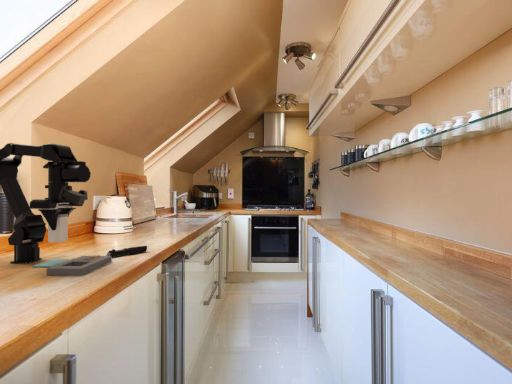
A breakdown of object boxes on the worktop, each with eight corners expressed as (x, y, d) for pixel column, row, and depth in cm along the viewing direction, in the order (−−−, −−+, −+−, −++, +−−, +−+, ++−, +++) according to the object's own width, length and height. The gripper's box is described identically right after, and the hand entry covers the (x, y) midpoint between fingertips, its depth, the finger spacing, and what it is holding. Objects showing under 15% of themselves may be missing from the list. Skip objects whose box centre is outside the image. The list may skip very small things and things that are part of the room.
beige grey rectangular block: (47, 242, 102) (47, 214, 102) (56, 240, 107) (56, 213, 107) (60, 242, 102) (60, 214, 102) (67, 240, 106) (68, 213, 106)
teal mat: (32, 267, 100) (32, 265, 100) (53, 260, 110) (53, 259, 110) (63, 267, 99) (63, 266, 99) (81, 260, 109) (81, 259, 109)
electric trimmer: (149, 253, 125) (149, 245, 125) (109, 259, 113) (110, 250, 113) (144, 252, 128) (144, 244, 128) (105, 258, 116) (105, 249, 116)
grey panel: (46, 275, 90) (46, 266, 90) (82, 261, 108) (82, 254, 108) (81, 275, 90) (81, 267, 90) (111, 261, 108) (111, 254, 108)
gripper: (64, 181, 95) (64, 233, 95) (97, 183, 114) (96, 226, 114) (28, 181, 95) (27, 232, 95) (66, 183, 114) (66, 226, 114)
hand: (58, 229), depth 104 cm, fingers closed on beige grey rectangular block, 4 cm apart
